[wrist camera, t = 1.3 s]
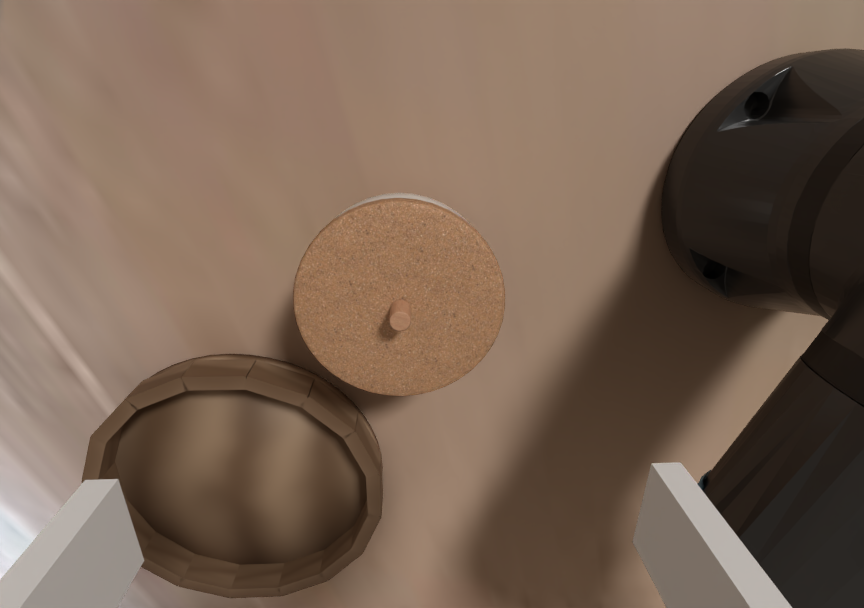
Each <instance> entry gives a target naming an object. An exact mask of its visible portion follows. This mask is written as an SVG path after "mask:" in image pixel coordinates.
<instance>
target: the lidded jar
mask: <svg viewBox="0 0 864 608" xmlns="http://www.w3.org/2000/svg"><path fill="white" fill-rule="evenodd" d="M293 305H294V313H295V318H296V322H297V325H298V328H299V331H300V333H301V336H302V338H303V340H304V341H305V343H306V345H307V347H308V348H309V350H310V351H311V353H312V354H313V355H314V356H315V358H316V359H317V360H318V361H319V362H320V363H321V364H322V365H323V366H324V367H325V368H326V369H327V370H328V371H330V372H331V373H332V374H334V375H335V376H337V377H338V378H340V379H341V380H343V381H344V382H346V383H348V384H350V385H353V386H355V387H357V388H359V389H362V390H366V391H369V392H372V393H377V394H383V395H392V396H407V395H418V394H422V393H427V392H431V391H434V390H437V389H440V388H442V387H445V386H447V385H449V384H451V383H453V382H455V381H457V380H458V379H460V378H461V377H463V376H464V375H465V374H467V373H468V372H470V371H471V370H472V369H473V368H474V367H475V366H476V365H477V364H478V363H479V362H480V361H481V360H482V359H483V358H484V356H485V355H486V354H487V352H488V351H489V350H490V348H491V347H492V345H493V343H494V341H495V339H496V337H497V335H498V333H499V330H500V327H501V324H502V321H503V315H504V309H505V288H504V282H503V277H502V273H501V270H500V268H499V265H498V262H497V260H496V258H495V256H494V254H493V253H492V251H491V249H490V247H489V246H488V244H487V242H486V241H485V240H484V239H483V238H482V236H481V235H480V234H479V233H478V232H477V230H476V229H475V228H473V227H472V226H471V224H470V223H469V222H468V221H467V220H466V219H464V218H463V217H462V216H461V215H460V214H459V213H458V212H456V211H454V210H453V209H451V208H450V207H448V206H446V205H445V204H443V203H441V202H439V201H436V200H434V199H431V198H429V197H425V196H421V195H417V194H409V193H390V194H382V195H378V196H374V197H370V198H368V199H366V200H363V201H361V202H358V203H356V204H354V205H352V206H351V207H349V208H348V209H346V210H345V211H343V212H341V213H340V214H339V215H338V216H337V217H336V218H335V219H333V220H332V221H331V222H330V223H329V224H328V225H327V226H326V227H325V228H323V229H322V230H321V231H320V233H319V234H318V235H317V236H316V238H315V239H314V240H313V241H312V243H311V244H310V245H309V247H308V249H307V250H306V252H305V254H304V256H303V258H302V260H301V262H300V265H299V268H298V271H297V274H296V277H295V283H294V290H293Z"/></svg>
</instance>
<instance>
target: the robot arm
mask: <svg viewBox="0 0 864 608" xmlns="http://www.w3.org/2000/svg"><path fill="white" fill-rule="evenodd" d="M662 224H663V230H664V234H665V238H666V241H667V244H668V247H669V249H670V251H671V253H672V255H673V257H674V259H675V260H676V262H677V263H678V265H679V266H680V267H681V268H682V270H683V271H684V272H685V273H686V274H687V275H688V276H689V277H691V278H692V279H693V280H694V281H696V282H697V283H699V284H700V285H702V286H704V287H705V288H707V289H709V290H710V291H712V292H714V293H715V294H717V295H719V296H720V297H723V298H725V299H727V300H730V301H732V302H735V303H738V304H742V305H745V306H750V307H756V308H764V309H772V310H779V311H787V312H794V313H802V314H810V315H817V316H822V317H824V318H826V319H828V320H829V321H828V322H827V323H826V325H825V326H824V327H823V328H822V330H821V332H820V333H819V334H818V336H817V337H816V338H815V339H814V341H813V342H812V343H811V345H810V346H809V347H808V349H807V350H806V351H805V352H804V354H802V356H800V357H799V359H798V360H797V361H796V362H795V364H794V365H793V366H792V368H791V369H790V370H789V371H788V373H787V374H786V375H785V377H784V378H783V379H782V380H781V382H780V383H779V384H778V386H777V387H776V388H775V389H774V391H773V392H772V393H771V395H770V396H769V397H768V398H767V400H766V401H765V402H764V404H763V405H762V406H761V407H760V409H759V410H758V411H757V413H756V414H755V415H754V416H753V418H752V419H751V420H750V422H749V423H748V424H747V425H746V427H745V428H744V429H743V431H742V432H741V433H740V434H739V436H738V437H737V438H736V440H735V441H734V442H733V443H732V445H731V446H730V447H729V449H728V450H727V451H726V452H725V454H724V455H723V456H722V458H721V459H720V460H719V461H718V463H717V464H716V465H715V467H714V468H713V469H712V470H710V471H708V472H707V473H706V474H704V475H703V476H702V477H701V479H700V481H699V483H698V484H697V483H696V482H695V480H694V479H693V478H692V477H691V475H690V474H689V473H688V471H687V470H686V469H685V467H684V466H683V465H682V464H681V462H678V463H651V467H650V471H649V475H648V480H647V484H646V488H645V492H644V496H643V500H642V504H641V509H640V513H639V517H638V521H637V525H636V529H635V533H634V538H633V544H634V546H635V548H636V550H637V552H638V554H639V555H640V557H641V559H642V561H643V563H644V565H645V567H646V569H647V571H648V573H649V575H650V577H651V579H652V581H653V582H654V584H655V586H656V588H657V590H658V592H659V594H660V596H661V598H662V600H663V602H664V604H665V606H666V607H667V608H864V50H858V49H830V50H821V51H814V52H806V53H798V54H793V55H789V56H785V57H781V58H778V59H775V60H772V61H770V62H767V63H765V64H763V65H760V66H758V67H757V68H755V69H753V70H751V71H749V72H747V73H746V74H744V75H742V76H741V77H739V78H738V79H736V80H735V81H734V82H732V83H731V84H730V85H728V86H727V87H726V88H724V89H723V90H722V91H721V92H720V93H719V94H718V95H716V96H715V97H714V98H713V99H712V100H711V101H710V102H709V103H708V104H707V105H706V107H705V108H704V109H703V110H702V111H701V112H700V113H699V115H698V116H697V117H696V119H695V120H694V121H693V122H692V124H691V125H690V127H689V128H688V130H687V131H686V133H685V135H684V136H683V138H682V140H681V141H680V143H679V145H678V147H677V149H676V151H675V153H674V156H673V158H672V161H671V163H670V166H669V169H668V172H667V175H666V179H665V184H664V189H663V195H662ZM143 562H144V558H143V555H142V552H141V549H140V546H139V542H138V539H137V536H136V533H135V530H134V527H133V524H132V521H131V517H130V514H129V511H128V508H127V505H126V502H125V499H124V495H123V492H122V489H121V486H120V483H119V480H118V479H100V480H85V481H84V482H83V483H82V484H81V485H80V487H79V488H78V489H77V490H76V491H75V492H74V494H73V495H72V496H71V497H70V498H69V500H68V501H67V502H66V503H65V504H64V505H63V507H62V508H61V509H60V510H59V511H58V512H57V514H56V515H55V516H54V517H53V518H52V520H51V521H50V522H49V523H48V524H47V525H46V527H45V528H44V529H43V530H42V531H41V532H40V534H39V535H38V536H37V537H36V538H35V540H34V541H33V542H32V543H31V544H30V545H29V547H28V548H27V549H26V550H25V551H24V552H23V554H22V555H21V556H20V557H19V558H18V560H17V561H16V562H15V563H14V564H13V565H12V567H11V568H10V569H9V570H8V571H7V573H6V574H5V575H4V576H3V577H2V578H1V580H0V608H118V606H119V604H120V602H121V601H122V599H123V597H124V595H125V593H126V592H127V590H128V588H129V586H130V585H131V583H132V581H133V579H134V578H135V576H136V574H137V572H138V571H139V569H140V567H141V565H142V564H143Z"/></svg>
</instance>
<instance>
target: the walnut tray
mask: <svg viewBox="0 0 864 608" xmlns="http://www.w3.org/2000/svg"><path fill="white" fill-rule="evenodd" d="M382 469H383V466H382V457H381V452H380V448H379V445H378V441H377V439H376V436H375V434H374V432H373V430H372V428H371V426H370V424H369V423H368V421H367V420H366V418H365V417H364V415H363V414H362V412H361V411H360V410H359V409H358V408H357V407H356V406H355V404H354V403H353V402H352V401H351V400H350V399H349V398H348V397H347V396H345V395H344V394H343V393H342V392H341V391H340V390H339V389H337V388H336V387H334V386H333V385H331V384H330V383H329V382H327V381H326V380H324V379H323V378H321V377H319V376H317V375H315V374H313V373H311V372H309V371H307V370H305V369H303V368H300V367H297V366H295V365H292V364H290V363H287V362H283V361H279V360H276V359H272V358H267V357H261V356H254V355H243V354H221V355H209V356H204V357H198V358H193V359H189V360H186V361H183V362H180V363H177V364H174V365H172V366H170V367H168V368H166V369H163V370H161V371H159V372H157V373H156V374H154V375H153V376H151V377H150V378H148V379H146V380H143V381H142V382H141V383H140V384H139V385H138V386H137V387H136V388H135V389H134V390H133V391H132V392H131V393H130V394H129V395H128V397H127V398H126V399H125V400H124V401H123V402H122V403H121V404H120V405H119V406H118V407H117V408H116V409H115V411H114V412H113V413H112V414H111V415H110V416H109V417H108V418H107V419H106V420H105V421H104V422H103V424H102V425H101V426H100V427H99V428H98V429H97V430H96V431H95V432H94V433H93V434H92V435H91V437H90V441H89V446H88V451H87V457H86V462H85V467H84V472H83V477H82V483H83V482H84V481H85V480H100V479H118V480H119V483H120V486H121V489H122V492H123V495H124V499H125V502H126V505H127V508H128V511H129V514H130V517H131V521H132V524H133V527H134V530H135V533H136V536H137V539H138V542H139V546H140V549H141V552H142V555H143V558H144V562H143V564H142V565H141V567H143V568H144V569H146V570H148V571H150V572H152V573H154V574H156V575H158V576H159V577H161V578H163V579H165V580H167V581H169V582H171V583H172V584H174V585H176V586H178V585H179V586H178V587H183V588H187V589H192V590H196V591H201V592H205V593H210V594H214V595H218V596H223V597H227V598H246V597H273V596H281V595H282V596H284V595H287V594H290V593H293V592H296V591H299V590H302V589H305V588H308V587H311V586H314V585H317V584H320V583H323V582H326V581H327V580H330V579H331V578H332V577H333V576H335V575H336V574H337V573H339V572H340V571H341V570H342V569H344V568H345V567H346V566H348V565H349V564H350V563H351V562H353V561H354V560H355V559H357V558H358V557H359V556H360V555H362V553H363V552H364V550H365V548H366V546H367V544H368V542H369V540H370V538H371V536H372V534H373V532H374V530H375V528H376V527H377V525H378V523H379V521H380V519H381V515H382V499H383V486H382Z"/></svg>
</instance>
